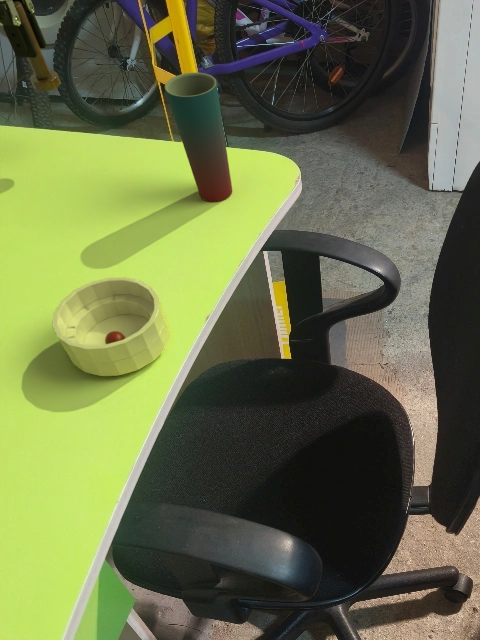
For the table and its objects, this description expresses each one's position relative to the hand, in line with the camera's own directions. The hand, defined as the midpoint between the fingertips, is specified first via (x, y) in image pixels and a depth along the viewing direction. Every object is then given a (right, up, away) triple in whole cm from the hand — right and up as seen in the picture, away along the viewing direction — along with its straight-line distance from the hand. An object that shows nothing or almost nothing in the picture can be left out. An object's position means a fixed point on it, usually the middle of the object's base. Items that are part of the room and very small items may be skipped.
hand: (31, 50), depth 85 cm
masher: (0, -2, +4) cm, 5 cm away
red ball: (+19, -46, -15) cm, 52 cm away
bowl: (+18, -45, -13) cm, 51 cm away
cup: (+26, -18, +5) cm, 32 cm away
